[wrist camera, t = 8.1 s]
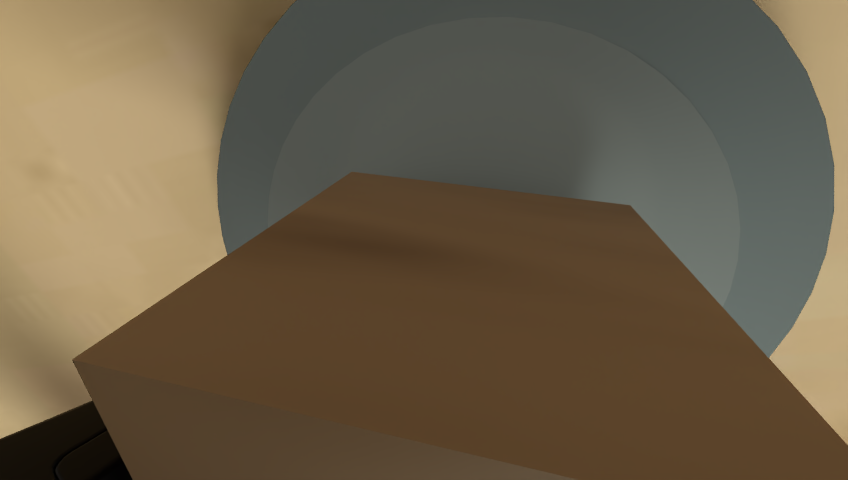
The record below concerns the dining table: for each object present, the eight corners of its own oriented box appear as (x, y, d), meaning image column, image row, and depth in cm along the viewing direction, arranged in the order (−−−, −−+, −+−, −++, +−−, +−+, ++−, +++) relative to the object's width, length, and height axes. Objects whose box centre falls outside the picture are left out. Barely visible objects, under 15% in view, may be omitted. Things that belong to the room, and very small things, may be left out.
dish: (657, 464, 14) (673, 509, 12) (278, 379, 16) (257, 408, 15) (957, -59, 7) (1076, -92, 5) (204, -68, 9) (150, -93, 8)
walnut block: (561, 407, 10) (625, 793, 5) (357, 364, 11) (216, 645, 6) (629, 205, 7) (961, 570, 2) (351, 171, 8) (71, 359, 3)
